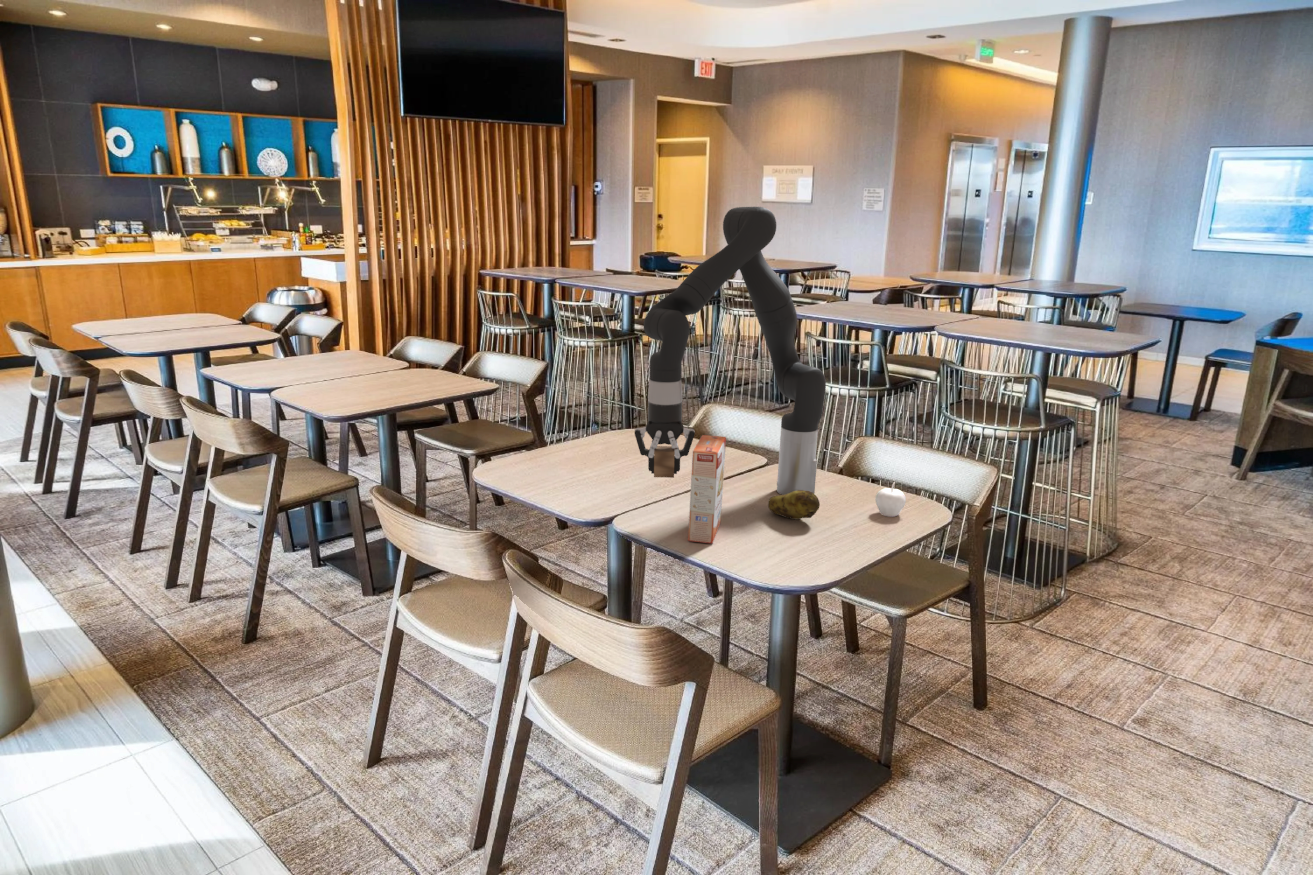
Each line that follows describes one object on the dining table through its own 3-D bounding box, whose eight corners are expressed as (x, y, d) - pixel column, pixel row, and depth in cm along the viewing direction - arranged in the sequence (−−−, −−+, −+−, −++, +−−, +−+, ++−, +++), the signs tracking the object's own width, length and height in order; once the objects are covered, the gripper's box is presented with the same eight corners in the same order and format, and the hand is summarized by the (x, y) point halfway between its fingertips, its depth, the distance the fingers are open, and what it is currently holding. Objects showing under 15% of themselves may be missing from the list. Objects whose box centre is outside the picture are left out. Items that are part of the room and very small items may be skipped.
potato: (792, 508, 212) (794, 477, 210) (823, 526, 201) (826, 493, 199) (763, 512, 208) (765, 481, 206) (793, 531, 197) (795, 498, 195)
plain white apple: (910, 516, 209) (914, 484, 207) (889, 521, 205) (892, 489, 203) (889, 507, 215) (892, 476, 213) (868, 512, 211) (871, 480, 209)
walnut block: (674, 471, 199) (674, 446, 198) (674, 477, 195) (674, 452, 193) (654, 471, 199) (654, 445, 198) (653, 477, 195) (654, 451, 193)
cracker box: (714, 545, 188) (719, 452, 182) (687, 542, 189) (690, 450, 184) (722, 522, 201) (727, 435, 196) (697, 520, 202) (700, 433, 197)
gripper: (696, 396, 196) (695, 468, 200) (633, 395, 196) (633, 467, 201) (697, 404, 189) (695, 478, 193) (632, 402, 189) (631, 477, 193)
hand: (663, 472), depth 197 cm, fingers closed on walnut block, 4 cm apart
